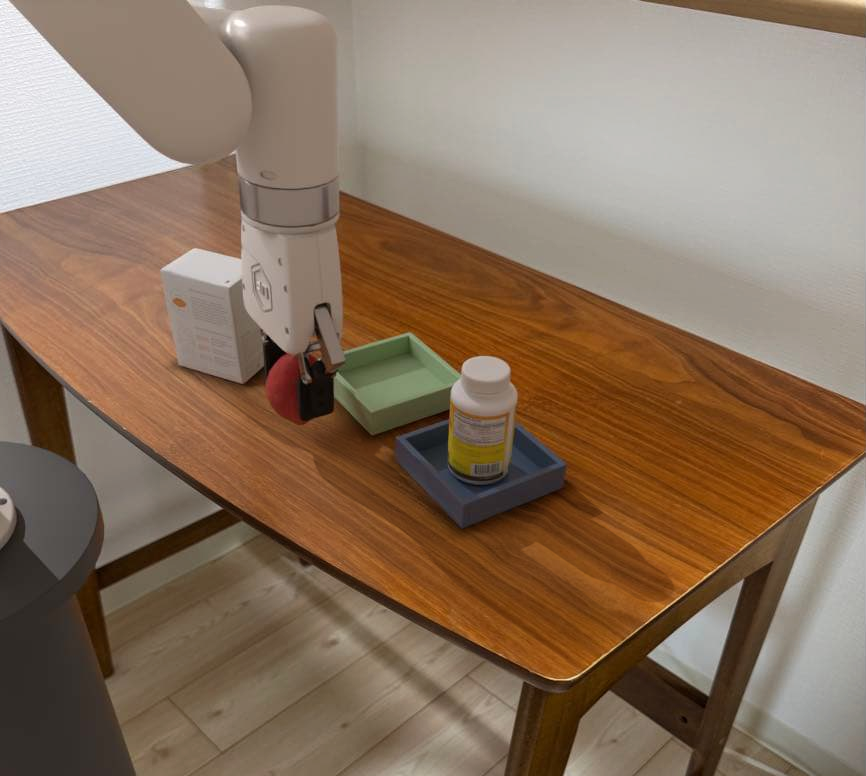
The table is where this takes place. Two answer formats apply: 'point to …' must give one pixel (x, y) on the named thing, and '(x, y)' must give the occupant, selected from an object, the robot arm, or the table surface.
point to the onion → (285, 387)
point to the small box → (211, 316)
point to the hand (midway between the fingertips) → (299, 395)
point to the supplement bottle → (482, 421)
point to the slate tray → (471, 503)
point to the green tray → (393, 383)
